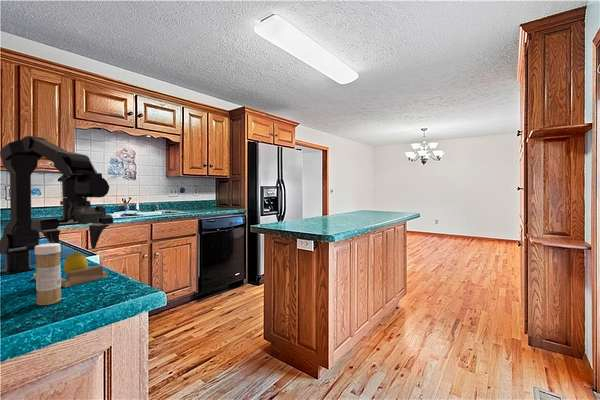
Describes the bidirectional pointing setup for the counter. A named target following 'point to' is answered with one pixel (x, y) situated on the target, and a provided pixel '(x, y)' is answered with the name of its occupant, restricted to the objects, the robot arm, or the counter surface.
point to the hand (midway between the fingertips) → (76, 251)
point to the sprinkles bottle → (48, 273)
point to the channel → (82, 276)
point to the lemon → (75, 262)
